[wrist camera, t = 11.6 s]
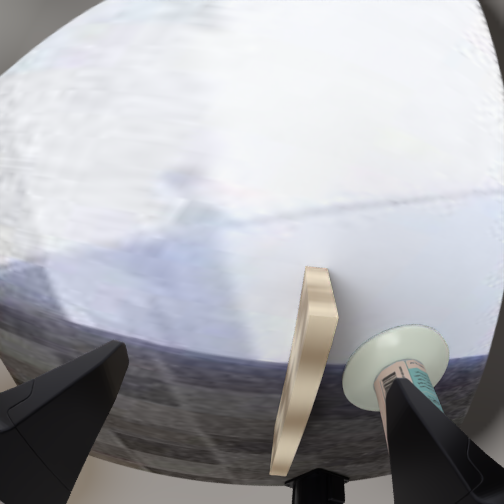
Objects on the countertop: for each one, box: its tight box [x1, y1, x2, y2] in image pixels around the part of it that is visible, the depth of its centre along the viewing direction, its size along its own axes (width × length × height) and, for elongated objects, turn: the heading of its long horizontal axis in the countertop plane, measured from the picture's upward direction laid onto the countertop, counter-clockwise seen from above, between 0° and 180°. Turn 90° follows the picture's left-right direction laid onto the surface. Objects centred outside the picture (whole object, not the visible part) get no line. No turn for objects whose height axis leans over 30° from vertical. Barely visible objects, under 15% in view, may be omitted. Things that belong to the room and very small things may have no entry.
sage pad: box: [342, 324, 449, 411], centre depth 22 cm, size 10×10×1 cm
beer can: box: [373, 359, 443, 452], centre depth 17 cm, size 5×5×12 cm
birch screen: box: [270, 266, 339, 476], centre depth 21 cm, size 18×2×6 cm, turn 176°
